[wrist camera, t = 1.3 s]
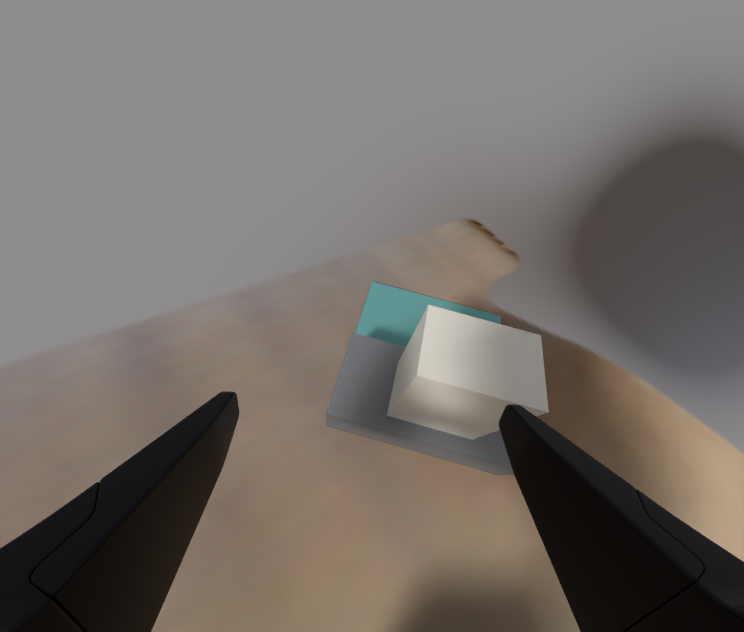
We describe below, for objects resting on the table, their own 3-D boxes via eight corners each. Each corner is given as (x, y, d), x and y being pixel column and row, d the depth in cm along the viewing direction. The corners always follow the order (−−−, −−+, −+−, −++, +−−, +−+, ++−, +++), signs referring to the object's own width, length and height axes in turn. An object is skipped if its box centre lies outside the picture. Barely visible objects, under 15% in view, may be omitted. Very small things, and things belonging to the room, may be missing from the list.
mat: (499, 389, 26) (501, 388, 25) (351, 348, 26) (351, 346, 26) (498, 318, 30) (500, 316, 30) (371, 283, 30) (372, 281, 30)
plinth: (499, 475, 22) (530, 472, 18) (326, 425, 22) (326, 414, 19) (499, 394, 25) (524, 380, 22) (349, 353, 26) (352, 332, 22)
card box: (472, 439, 19) (548, 412, 12) (386, 415, 19) (416, 375, 13) (474, 384, 21) (540, 335, 15) (397, 363, 21) (428, 304, 15)
